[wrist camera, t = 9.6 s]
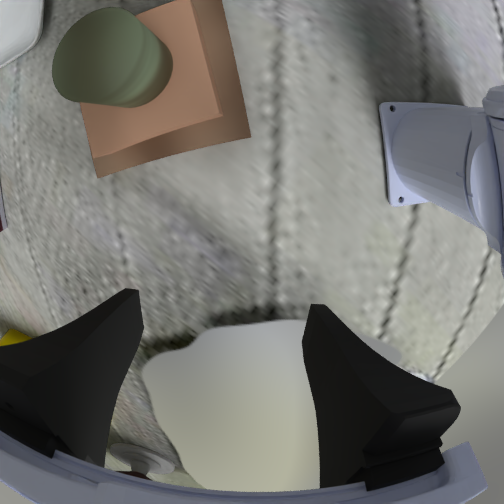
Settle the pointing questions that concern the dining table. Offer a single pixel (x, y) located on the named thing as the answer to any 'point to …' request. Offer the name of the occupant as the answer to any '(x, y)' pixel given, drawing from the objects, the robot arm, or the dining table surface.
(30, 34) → the salad plate
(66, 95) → the cylinder
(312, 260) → the dining table surface
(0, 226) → the supplement box
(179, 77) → the top slab
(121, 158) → the base slab
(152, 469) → the mate gourd
